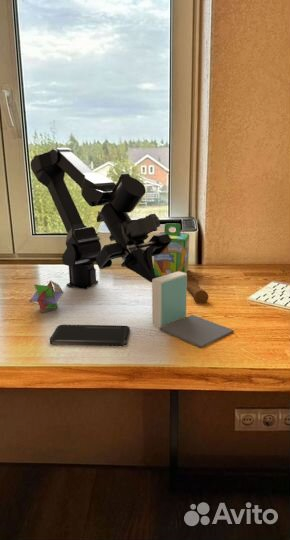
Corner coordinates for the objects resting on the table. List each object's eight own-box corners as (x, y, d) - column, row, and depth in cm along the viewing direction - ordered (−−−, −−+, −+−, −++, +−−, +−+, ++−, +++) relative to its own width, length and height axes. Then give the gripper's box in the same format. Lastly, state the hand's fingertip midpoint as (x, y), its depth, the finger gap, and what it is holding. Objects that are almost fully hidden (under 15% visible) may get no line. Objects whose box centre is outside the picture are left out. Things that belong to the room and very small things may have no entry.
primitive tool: (176, 280, 116) (176, 269, 115) (195, 279, 117) (195, 268, 116) (194, 305, 98) (194, 292, 97) (216, 304, 98) (217, 290, 97)
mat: (160, 329, 84) (159, 328, 84) (192, 316, 90) (192, 314, 90) (201, 348, 76) (201, 346, 76) (233, 331, 82) (233, 330, 82)
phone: (126, 343, 77) (47, 341, 78) (126, 348, 77) (48, 346, 78) (130, 325, 84) (58, 323, 85) (130, 330, 85) (59, 328, 86)
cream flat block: (152, 323, 87) (152, 279, 84) (178, 313, 92) (178, 271, 89) (161, 327, 85) (161, 282, 82) (187, 317, 90) (187, 273, 87)
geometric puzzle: (48, 310, 89) (57, 276, 91) (20, 307, 91) (30, 273, 93) (62, 319, 95) (70, 286, 98) (36, 315, 97) (44, 284, 100)
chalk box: (153, 277, 118) (153, 226, 114) (159, 268, 127) (159, 220, 122) (185, 279, 116) (186, 227, 112) (189, 269, 125) (190, 221, 120)
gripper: (101, 207, 83) (138, 270, 78) (166, 198, 95) (201, 253, 90) (81, 239, 91) (114, 298, 86) (143, 227, 103) (175, 279, 98)
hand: (153, 281), depth 90 cm, fingers closed
